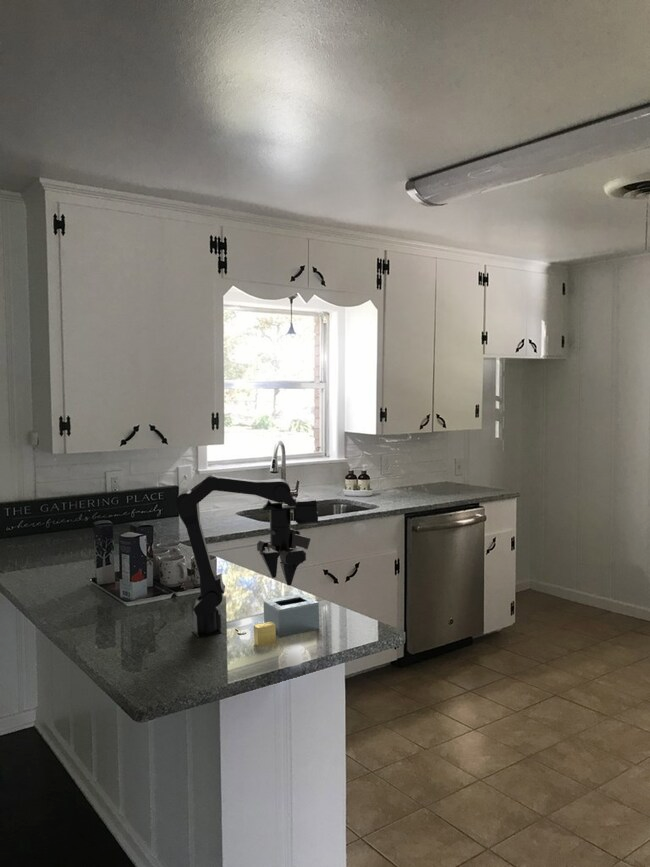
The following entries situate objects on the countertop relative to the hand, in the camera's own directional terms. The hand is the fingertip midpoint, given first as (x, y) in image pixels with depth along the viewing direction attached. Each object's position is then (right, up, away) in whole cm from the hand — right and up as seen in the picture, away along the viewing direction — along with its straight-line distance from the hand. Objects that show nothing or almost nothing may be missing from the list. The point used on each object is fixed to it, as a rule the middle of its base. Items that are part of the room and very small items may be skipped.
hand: (281, 581), depth 202 cm
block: (-4, -14, -11) cm, 18 cm away
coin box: (+3, -13, 0) cm, 13 cm away
